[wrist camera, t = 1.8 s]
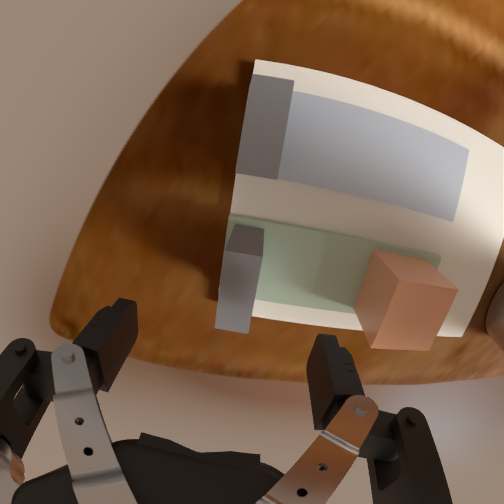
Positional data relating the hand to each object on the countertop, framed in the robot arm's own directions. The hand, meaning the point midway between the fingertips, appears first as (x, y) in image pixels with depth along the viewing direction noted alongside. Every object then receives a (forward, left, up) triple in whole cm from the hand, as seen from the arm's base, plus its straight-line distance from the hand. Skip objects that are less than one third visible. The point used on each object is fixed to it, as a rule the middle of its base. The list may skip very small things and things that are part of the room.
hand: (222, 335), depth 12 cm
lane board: (-11, -4, -11) cm, 16 cm away
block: (-12, 0, -9) cm, 15 cm away
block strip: (-7, 0, -10) cm, 12 cm away
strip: (-7, -9, -10) cm, 15 cm away
